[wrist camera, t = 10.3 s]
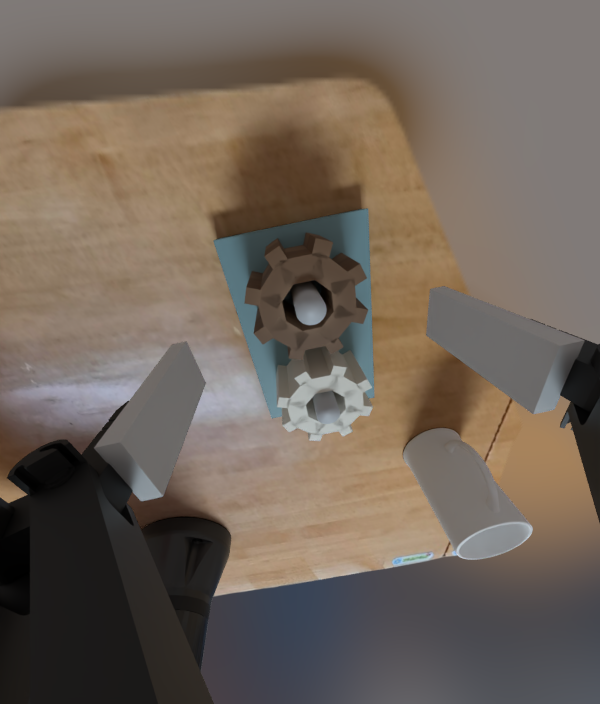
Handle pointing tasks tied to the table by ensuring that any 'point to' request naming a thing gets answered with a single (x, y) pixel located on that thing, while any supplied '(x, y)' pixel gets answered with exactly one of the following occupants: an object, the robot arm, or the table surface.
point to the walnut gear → (297, 268)
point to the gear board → (255, 261)
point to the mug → (465, 495)
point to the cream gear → (321, 376)
